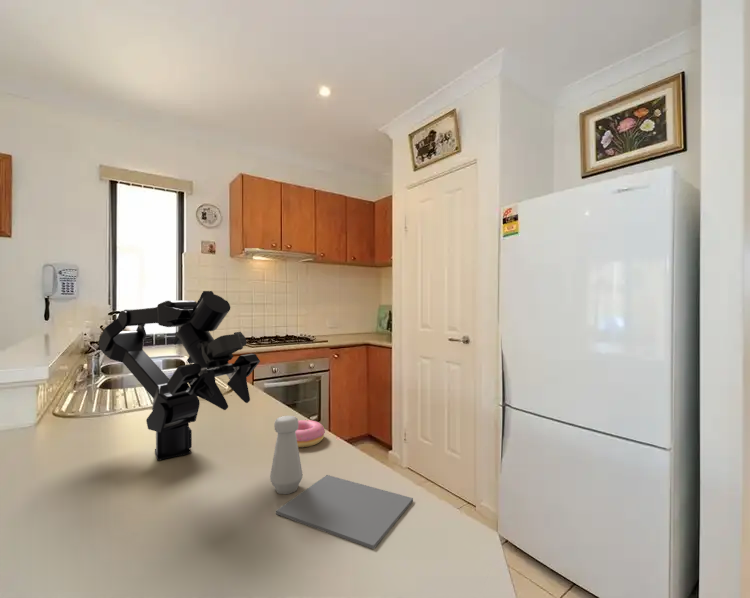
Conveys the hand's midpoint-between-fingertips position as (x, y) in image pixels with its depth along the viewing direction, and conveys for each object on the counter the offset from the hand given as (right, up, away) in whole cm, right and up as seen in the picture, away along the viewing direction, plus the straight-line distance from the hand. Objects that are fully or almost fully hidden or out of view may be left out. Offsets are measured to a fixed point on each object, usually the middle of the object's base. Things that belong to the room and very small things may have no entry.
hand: (237, 405), depth 75 cm
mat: (+22, -14, -12) cm, 29 cm away
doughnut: (+9, -14, +17) cm, 24 cm away
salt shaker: (+11, -14, -6) cm, 19 cm away
